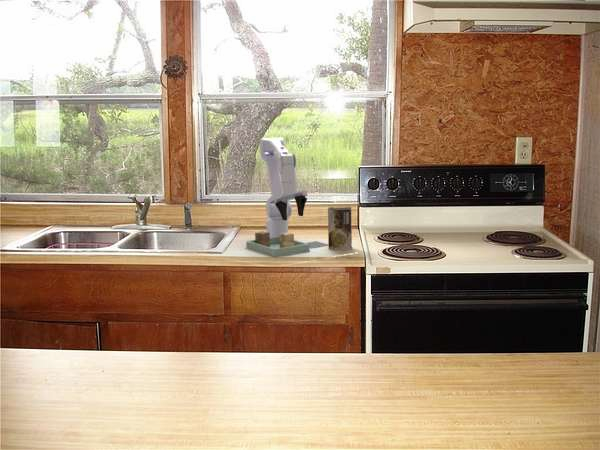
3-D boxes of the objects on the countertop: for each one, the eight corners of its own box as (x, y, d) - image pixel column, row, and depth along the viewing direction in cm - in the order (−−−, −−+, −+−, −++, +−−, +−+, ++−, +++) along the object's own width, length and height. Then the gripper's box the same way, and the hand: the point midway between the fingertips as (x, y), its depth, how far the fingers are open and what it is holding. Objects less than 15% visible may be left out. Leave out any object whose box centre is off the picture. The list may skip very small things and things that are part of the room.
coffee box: (351, 247, 254) (351, 206, 252) (351, 250, 248) (351, 209, 245) (328, 247, 255) (328, 206, 252) (327, 250, 249) (327, 209, 246)
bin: (246, 249, 253) (246, 241, 252) (280, 243, 262) (280, 236, 261) (274, 258, 237) (274, 249, 236) (309, 252, 246) (309, 244, 245)
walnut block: (255, 247, 252) (255, 232, 251) (262, 246, 255) (262, 231, 254) (262, 249, 250) (262, 233, 249) (269, 247, 253) (269, 232, 252)
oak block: (279, 248, 250) (279, 233, 249) (288, 247, 252) (288, 232, 251) (285, 250, 247) (285, 234, 246) (294, 249, 249) (293, 233, 248)
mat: (296, 245, 258) (296, 244, 258) (316, 242, 264) (316, 241, 264) (311, 249, 250) (311, 248, 250) (331, 246, 256) (331, 245, 256)
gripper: (267, 186, 251) (271, 220, 248) (298, 177, 243) (302, 212, 241) (278, 189, 257) (282, 222, 254) (308, 180, 249) (312, 214, 246)
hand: (292, 217), depth 248 cm, fingers open, 7 cm apart
